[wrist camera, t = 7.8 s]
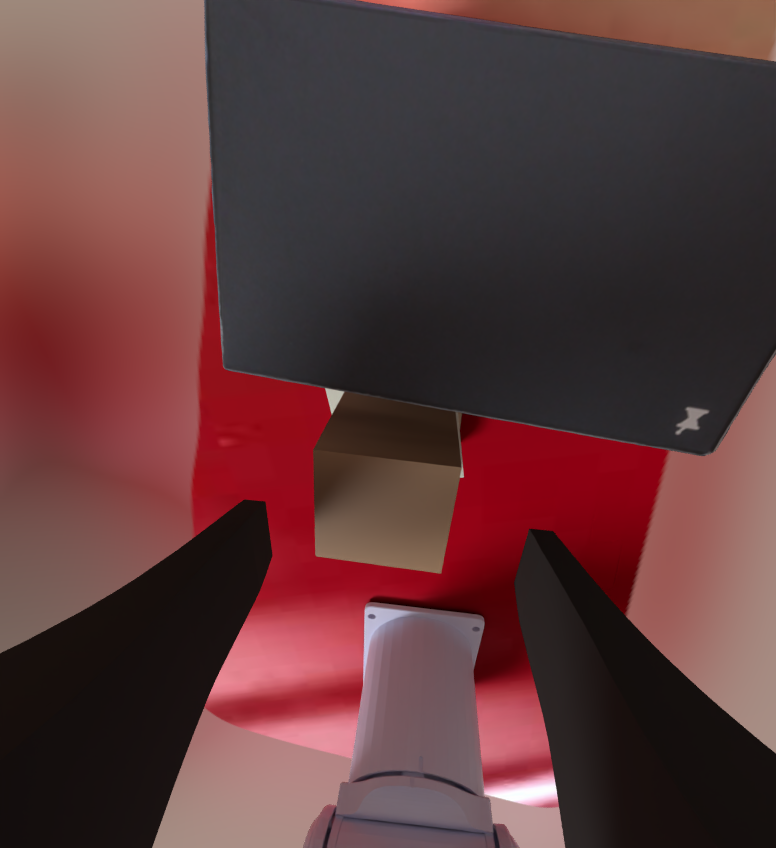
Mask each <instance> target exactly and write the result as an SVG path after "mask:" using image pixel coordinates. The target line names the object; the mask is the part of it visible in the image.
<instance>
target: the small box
mask: <svg viewBox="0 0 776 848" xmlns="http://www.w3.org/2000/svg"><path fill="white" fill-rule="evenodd" d="M204 7H205V62H206V63H205V64H206V83H207V101H208V123H209V135H210V157H211V176H212V199H213V213H214V224H215V241H216V262H217V280H218V297H219V313H220V327H221V345H222V355H223V366H224V368H225V369H226V370H229V371H234V372H240V373H246V374H251V375H256V376H262V377H267V378H273V379H278V380H283V381H288V382H294V383H300V384H305V385H311V386H316V387H322V388H327V389H332V390H338V391H344V392H350V393H355V394H360V395H364V396H371V397H377V398H382V399H388V400H393V401H399V402H404V403H409V404H415V405H420V406H425V407H431V408H437V409H441V410H447V411H454V412H460V413H465V414H470V415H475V416H481V417H487V418H492V419H498V420H503V421H510V422H516V423H521V424H527V425H532V426H537V427H542V428H547V429H553V430H559V431H566V432H571V433H576V434H581V435H586V436H591V437H596V438H602V439H609V440H615V441H620V442H625V443H632V444H636V445H641V446H650V447H654V448H660V449H666V450H671V451H677V452H682V453H688V454H693V455H699V456H705V455H708V454H711V453H713V452H714V451H716V449H717V448H718V447H719V445H720V443H721V441H722V440H723V438H724V437H725V435H726V434H727V432H728V430H729V428H730V426H731V424H732V423H733V421H734V420H735V418H736V417H737V416H738V414H739V412H740V409H741V408H742V406H743V405H744V403H745V402H746V400H747V399H748V397H749V395H750V393H751V392H752V390H753V389H754V387H755V385H756V384H757V382H758V380H759V379H760V377H761V375H762V374H763V372H764V371H765V369H766V368H767V367H768V365H769V363H770V362H771V360H772V359H773V358H774V356H775V355H776V62H774V61H767V60H760V59H753V58H745V57H738V56H731V55H724V54H717V53H710V52H703V51H696V50H689V49H681V48H674V47H667V46H660V45H653V44H646V43H639V42H632V41H625V40H618V39H611V38H604V37H597V36H589V35H582V34H575V33H569V32H562V31H555V30H548V29H541V28H534V27H527V26H521V25H514V24H508V23H502V22H495V21H489V20H482V19H475V18H468V17H462V16H455V15H448V14H442V13H435V12H428V11H422V10H415V9H408V8H402V7H395V6H388V5H382V4H375V3H369V2H363V1H356V0H204Z"/></svg>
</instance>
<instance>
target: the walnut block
mask: <svg viewBox="0 0 776 848" xmlns="http://www.w3.org/2000/svg"><path fill="white" fill-rule="evenodd" d="M313 455H314V505H315V554H316V556H318V557H325V558H333V559H340V560H347V561H354V562H362V563H369V564H376V565H383V566H391V567H398V568H405V569H412V570H420V571H427V572H434V573H441V570H442V565H443V560H444V555H445V550H446V545H447V540H448V535H449V530H450V524H451V519H452V514H453V509H454V504H455V499H456V494H457V489H458V484H459V479H460V474H461V469H462V466H461V457H460V448H459V439H458V430H457V421H456V412H454V411H447V410H441V409H437V408H431V407H425V406H420V405H415V404H409V403H404V402H399V401H393V400H388V399H382V398H377V397H371V396H364V395H360V394H355V393H350V392H344V393H343V395H342V397H341V399H340V401H339V403H338V405H337V406H336V408H335V410H334V412H333V414H332V416H331V418H330V420H329V421H328V423H327V425H326V427H325V429H324V431H323V433H322V434H321V436H320V438H319V440H318V442H317V444H316V446H315V448H314V449H313Z"/></svg>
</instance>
